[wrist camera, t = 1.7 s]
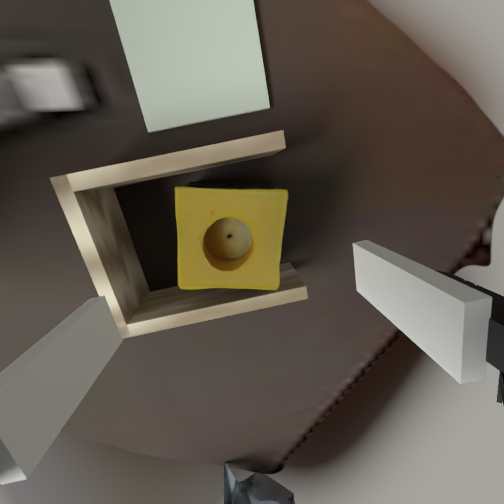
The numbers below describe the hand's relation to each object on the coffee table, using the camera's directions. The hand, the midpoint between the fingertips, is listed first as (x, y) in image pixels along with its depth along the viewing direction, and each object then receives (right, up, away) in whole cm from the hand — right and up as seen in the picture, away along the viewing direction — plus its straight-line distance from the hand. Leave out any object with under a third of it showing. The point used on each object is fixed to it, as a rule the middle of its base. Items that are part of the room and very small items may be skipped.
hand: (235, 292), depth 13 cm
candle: (-2, +6, +20) cm, 21 cm away
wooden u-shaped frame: (-6, +5, +19) cm, 21 cm away
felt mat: (-5, +24, +14) cm, 28 cm away
